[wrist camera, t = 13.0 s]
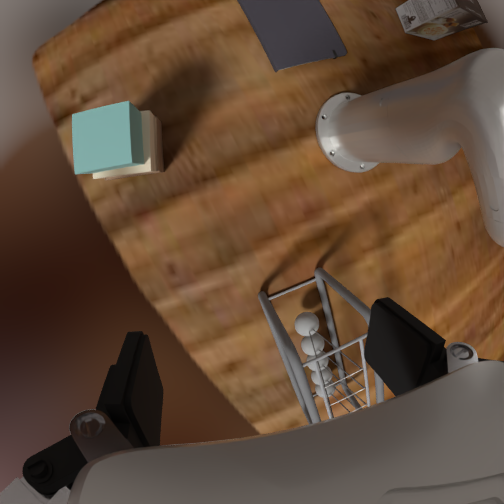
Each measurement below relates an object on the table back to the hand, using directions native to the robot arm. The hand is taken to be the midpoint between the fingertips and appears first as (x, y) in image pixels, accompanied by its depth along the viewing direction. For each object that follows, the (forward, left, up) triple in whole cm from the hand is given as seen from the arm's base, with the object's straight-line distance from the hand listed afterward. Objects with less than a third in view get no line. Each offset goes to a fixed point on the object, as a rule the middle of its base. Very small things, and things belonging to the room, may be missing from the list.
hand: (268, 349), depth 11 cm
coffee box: (-55, -4, -31) cm, 63 cm away
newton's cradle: (+5, +27, -31) cm, 41 cm away
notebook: (-30, -18, -31) cm, 47 cm away
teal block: (+1, -15, -20) cm, 25 cm away
